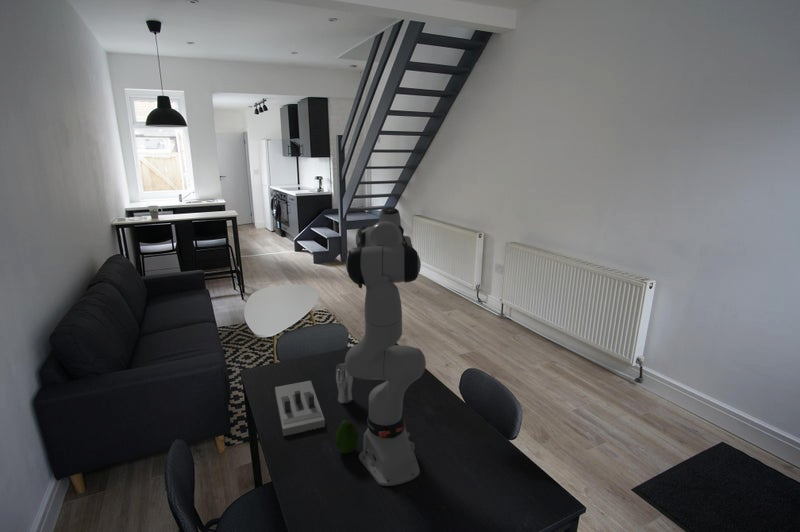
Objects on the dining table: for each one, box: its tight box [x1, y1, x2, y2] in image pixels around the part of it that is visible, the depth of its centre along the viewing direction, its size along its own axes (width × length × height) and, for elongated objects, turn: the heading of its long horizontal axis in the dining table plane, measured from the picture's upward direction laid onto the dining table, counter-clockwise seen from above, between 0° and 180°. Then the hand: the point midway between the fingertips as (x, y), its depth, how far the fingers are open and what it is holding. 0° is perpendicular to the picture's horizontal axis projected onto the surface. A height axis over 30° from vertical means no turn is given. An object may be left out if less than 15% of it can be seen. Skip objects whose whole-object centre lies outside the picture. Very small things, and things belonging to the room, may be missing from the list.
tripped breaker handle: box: [295, 390, 301, 403], centre depth 166 cm, size 2×2×4 cm
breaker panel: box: [274, 380, 326, 437], centre depth 166 cm, size 30×15×8 cm, turn 21°
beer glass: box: [335, 362, 354, 404], centre depth 172 cm, size 7×7×15 cm
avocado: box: [335, 419, 360, 455], centre depth 142 cm, size 8×8×12 cm
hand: (390, 267), depth 184 cm, fingers open, 8 cm apart
